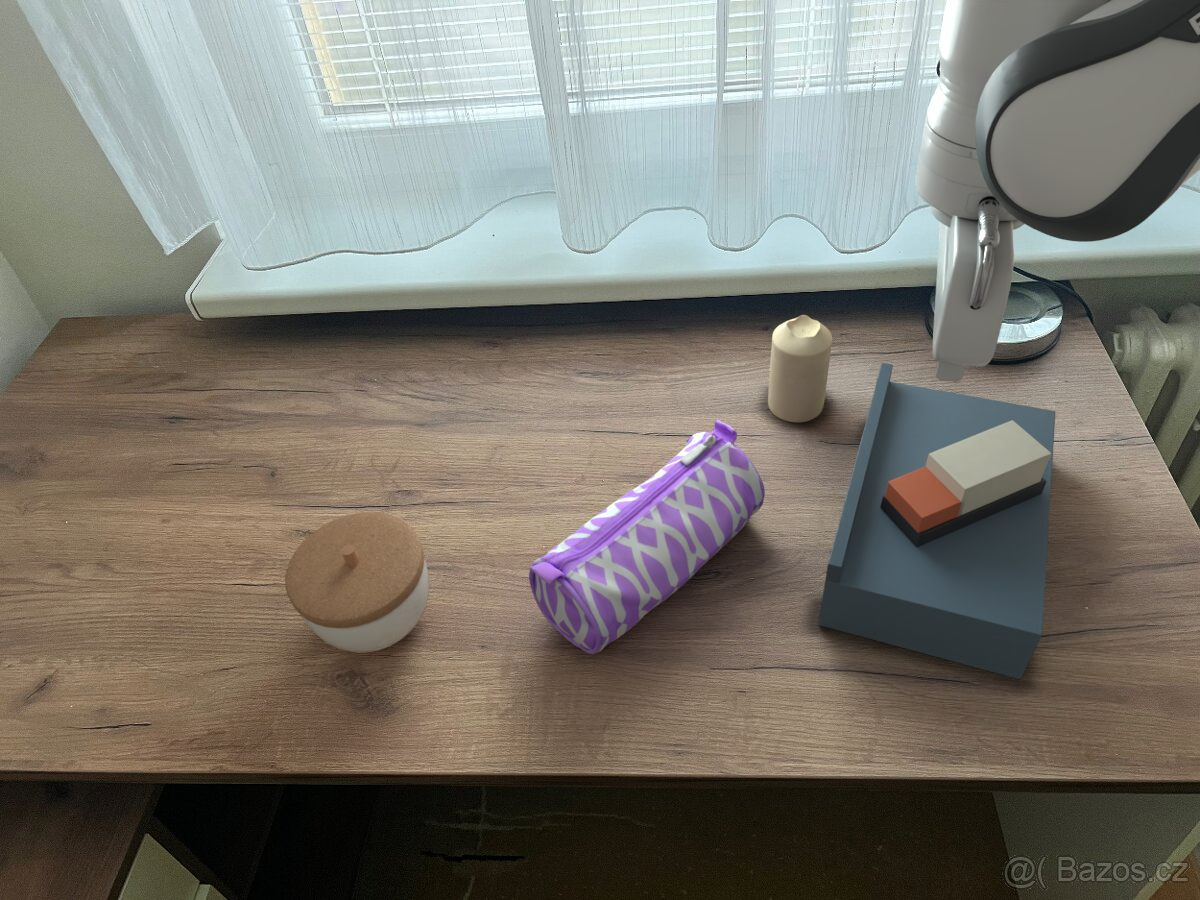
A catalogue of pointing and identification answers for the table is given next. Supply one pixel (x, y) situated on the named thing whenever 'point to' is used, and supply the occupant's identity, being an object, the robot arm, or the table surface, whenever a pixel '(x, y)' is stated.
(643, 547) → the pencil case
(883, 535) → the grey lipped base tray
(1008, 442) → the cream and orange block
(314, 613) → the trinket box
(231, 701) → the table surface
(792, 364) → the candle
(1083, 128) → the robot arm
